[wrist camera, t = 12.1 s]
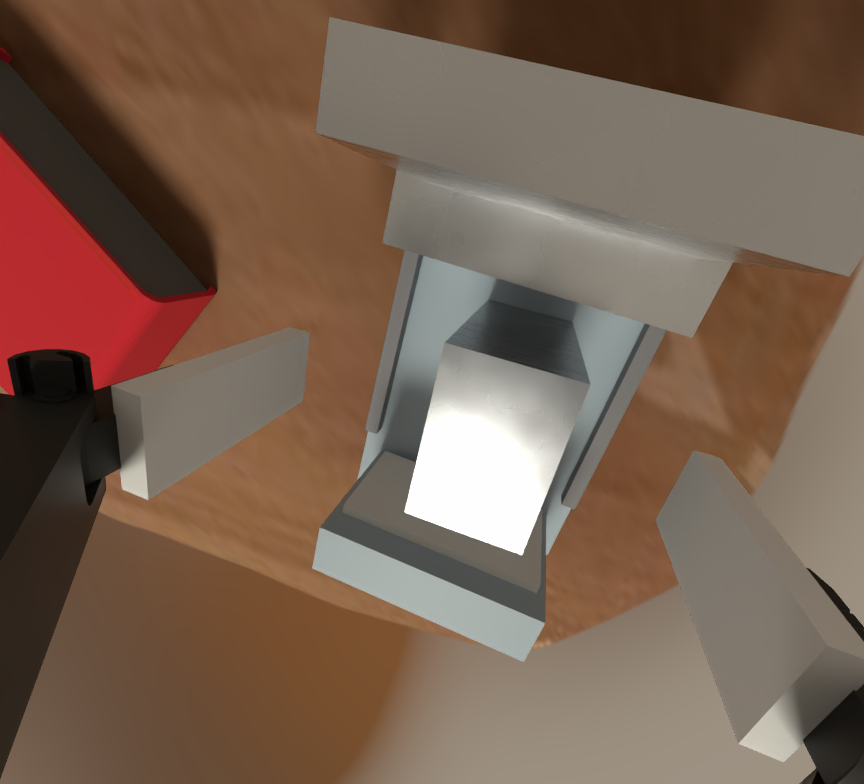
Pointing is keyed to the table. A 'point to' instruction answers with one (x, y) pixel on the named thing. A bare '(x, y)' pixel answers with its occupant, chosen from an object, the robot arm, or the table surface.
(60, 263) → the red device housing
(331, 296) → the table surface
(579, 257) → the sliding jaw
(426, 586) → the vise base
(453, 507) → the steel block
